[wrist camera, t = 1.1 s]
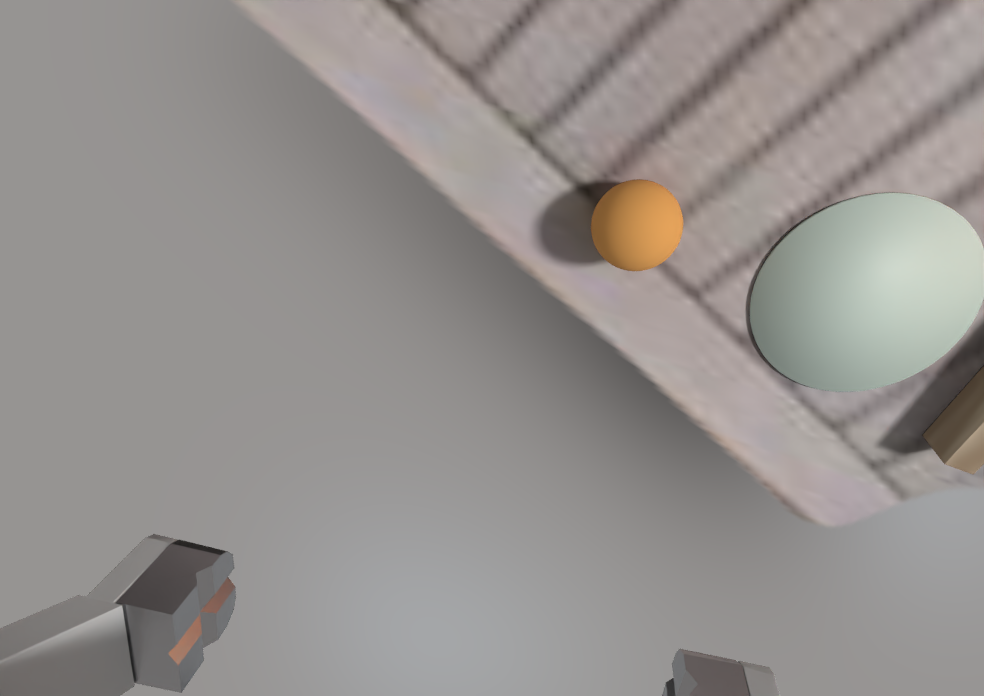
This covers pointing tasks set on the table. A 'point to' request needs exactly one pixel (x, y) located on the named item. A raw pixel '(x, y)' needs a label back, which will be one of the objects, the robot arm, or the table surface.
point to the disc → (868, 292)
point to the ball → (637, 225)
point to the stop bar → (961, 428)
